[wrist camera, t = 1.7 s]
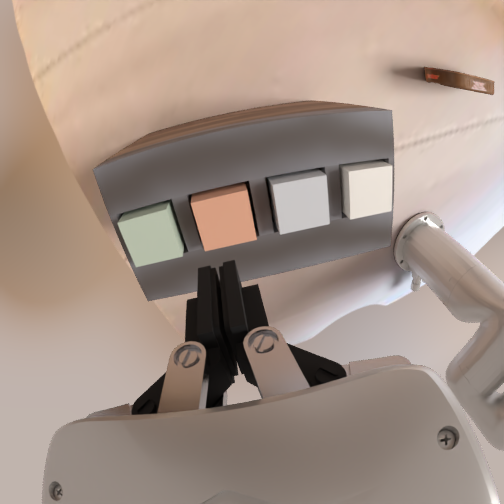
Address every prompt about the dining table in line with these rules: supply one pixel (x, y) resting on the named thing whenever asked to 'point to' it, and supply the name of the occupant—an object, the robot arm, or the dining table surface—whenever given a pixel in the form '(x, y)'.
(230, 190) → the terracotta key
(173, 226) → the sage key
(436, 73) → the tin
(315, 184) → the grey key
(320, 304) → the dining table surface
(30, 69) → the dining table surface
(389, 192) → the cream key
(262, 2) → the dining table surface
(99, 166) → the console
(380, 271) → the dining table surface
